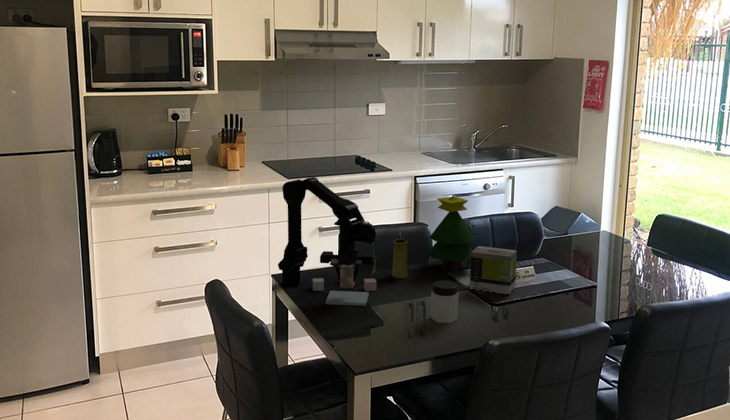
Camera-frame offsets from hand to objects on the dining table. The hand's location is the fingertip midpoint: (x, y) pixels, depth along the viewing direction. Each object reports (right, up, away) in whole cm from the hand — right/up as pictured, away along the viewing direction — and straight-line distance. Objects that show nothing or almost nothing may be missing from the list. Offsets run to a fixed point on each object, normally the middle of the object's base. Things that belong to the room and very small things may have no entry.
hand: (347, 281), depth 260 cm
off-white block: (-11, -4, +12) cm, 17 cm away
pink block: (+8, -4, +12) cm, 15 cm away
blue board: (0, -7, +2) cm, 7 cm away
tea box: (+54, -4, +14) cm, 56 cm away
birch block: (0, -1, 0) cm, 2 cm away
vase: (+20, -1, +27) cm, 33 cm away
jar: (+32, -11, -15) cm, 38 cm away
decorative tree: (+41, +1, +37) cm, 55 cm away
